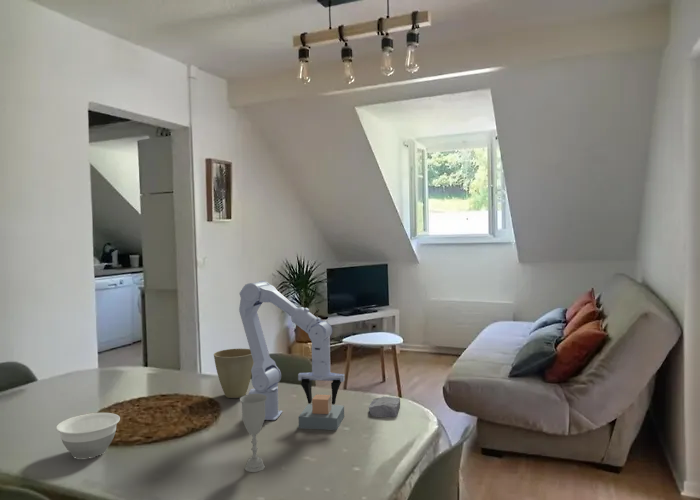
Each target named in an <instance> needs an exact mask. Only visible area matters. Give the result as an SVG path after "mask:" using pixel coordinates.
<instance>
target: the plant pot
mask: <svg viewBox="0 0 700 500" xmlns="http://www.w3.org/2000/svg"><path fill="white" fill-rule="evenodd" d="M213 358H214V364H215V365H214V366H215V368H216V374H217V377H218V380H219V384H220V385H221V388H222V391H223V394H224V396H225V398H228V399H238V398H239V399H240V398H241V397H243V396H245V395H247V392H248V390H249V387H250V382H251V380H252V372H251V369H252V366H253V364H254V362H253V358H252V354H251V351H250V348H229V349H221V350H219V351H215V352H214V353H213Z"/></svg>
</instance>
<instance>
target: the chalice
mask: <svg viewBox="0 0 700 500" xmlns="http://www.w3.org/2000/svg"><path fill="white" fill-rule="evenodd" d="M248 394H249V393H248ZM248 394H246V395H245V396H243V397H239V400H240V403H241V415H242V417H241V419H242V421H243V425H244V427H245V429H246V431H247V433H248V434H249V435H252V439H251V445H252V446H251V447H252V448H251V449H250V450H251V451H252V456H250V457H249V458H248V460H247V462H246V465H245V467H244V470H245V471H246V472H249V473H257V472H261V471H263V470H264V469H265V468H266V466H265V464H264V462H263V459H262V458H261V457H260V456H258V455H257V451H258V448H259V447H257V443H258V440H257V435H258V434H260V432H261V430H262V427H263V424H264V422H265V420H264V419H265V401H266V398H267V396H265V395H263V394H249V395H248Z"/></svg>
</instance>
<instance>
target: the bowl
mask: <svg viewBox="0 0 700 500" xmlns="http://www.w3.org/2000/svg"><path fill="white" fill-rule="evenodd" d="M120 421H121V416H120V415H118V414H116V413H113V412H92V413H86V414H81V415H76V416H72V417H69V418H67V419H64V420H62V421H61V422H59V423H58V424H57V425H56V426H55V430H56V431H57V433H60V438H61V443H62V444H63V446H64V447H65V448H66V450H68V452H69V453H70V454H71V456H73V457H76V458H89V457H94V456H97V457H99V456H98V455H100V454H102V453H104V452H105V453H106V452H107V451H106V450H108V448H109V446H110V445H111V444H112V442H113V441H114V440H113V439H114V437H115V434H116V430H117V424H118V423H119V422H120ZM105 453H104V454H105ZM102 455H103V454H102ZM100 456H101V455H100ZM73 457H72V458H73ZM94 458H95V457H94Z"/></svg>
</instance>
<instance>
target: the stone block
mask: <svg viewBox="0 0 700 500" xmlns="http://www.w3.org/2000/svg"><path fill="white" fill-rule="evenodd" d="M400 407H401V398H400V397H393V396H381V397H377V398H374V399H372V401H371V402H370V403H369V406H368V408H369V410H368V411H369V413H370V415H371V417H376V416H377V417H379V418H385V417H386V418H397V417H398V414H399V410H400ZM396 416H397V417H396Z"/></svg>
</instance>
